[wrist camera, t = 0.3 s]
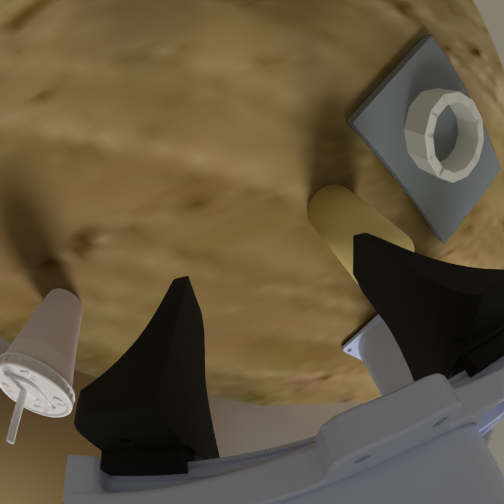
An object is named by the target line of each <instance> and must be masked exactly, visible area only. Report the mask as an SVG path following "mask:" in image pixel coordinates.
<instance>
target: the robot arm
mask: <svg viewBox="0 0 504 504" xmlns="http://www.w3.org/2000/svg"><path fill="white" fill-rule="evenodd" d="M353 275H354V277H355V279H356V281H357V283H358V284H359V286H360V288H361V290H362V292H363V293H364V294H365V296H366V297H367V299H368V300H369V301H370V303H371V304H372V305H373V307H374V308H375V310H376V311H377V312H378V314H377V315H376V316H375V317H374V318H373V319H372V320H371V321H370V322H369V323H368V324H367V325H366V326H364V327H363V328H362V329H361V330H360V331H359V332H358V333H357V334H356V335H355V336H353V337H352V338H351V339H350V340H349V341H348V342H347V343H346V344H344V345H343V346H342V350H343V351H344V352H346V353H348V354H350V355H352V356H354V357H356V358H358V359H360V360H362V361H363V362H364V364H365V366H366V368H367V370H368V371H369V373H370V375H371V377H372V379H373V381H374V382H375V384H376V386H377V388H378V390H379V392H380V394H381V395H382V396H381V397H379V398H376V399H374V400H371V401H369V402H366V403H364V404H361V405H358V406H356V407H353V408H351V409H349V410H347V411H344V412H342V413H340V414H338V415H336V416H334V417H333V418H332V419H330V420H329V421H327V422H326V423H325V424H323V426H322V427H321V429H320V431H319V433H318V434H317V436H314V437H311V438H308V439H304V440H301V441H297V442H293V443H289V444H286V445H282V446H278V447H274V448H269V449H265V450H260V451H256V452H251V453H245V454H240V455H236V456H229V457H223V458H220V457H219V452H218V448H217V444H216V439H215V435H214V430H213V425H212V420H211V414H210V409H209V403H208V396H207V390H206V381H205V345H204V327H203V320H202V313H201V310H200V307H199V305H198V302H197V299H196V297H195V294H194V291H193V288H192V286H191V283H190V280H189V277H188V276H186V277H181V278H177V279H174V280H173V282H172V284H171V285H170V287H169V289H168V291H167V293H166V295H165V297H164V299H163V300H162V302H161V304H160V306H159V307H158V309H157V311H156V313H155V314H154V316H153V317H152V319H151V321H150V322H149V324H148V325H147V327H146V328H145V330H144V331H143V332H142V334H141V335H140V336H139V338H138V339H137V340H136V341H135V343H134V344H133V345H132V346H131V347H130V348H129V349H128V350H127V351H126V353H125V354H124V355H123V356H122V357H121V358H120V359H119V360H118V361H117V362H116V363H115V364H114V365H113V366H112V367H111V368H109V369H108V370H107V371H106V372H105V373H104V374H102V375H101V376H100V377H99V378H97V379H96V380H95V381H93V382H92V383H91V384H90V385H88V386H87V387H85V388H84V389H82V390H81V391H80V395H79V399H78V404H77V409H76V414H75V420H74V425H75V427H76V429H77V430H78V431H79V432H80V434H81V435H82V436H83V437H85V438H86V439H87V440H88V441H90V442H91V443H92V444H94V445H95V446H96V447H97V448H99V449H100V450H101V451H102V455H101V459H100V458H98V457H94V456H82V455H69V456H68V460H67V468H66V476H65V486H64V499H63V504H504V476H503V474H502V473H501V470H500V469H499V467H498V465H497V463H496V461H495V459H494V458H493V456H492V454H491V452H490V450H489V449H488V447H487V445H488V443H489V440H490V438H491V435H492V433H493V431H494V428H495V425H496V424H497V423H498V422H500V421H501V420H502V419H503V418H504V270H500V269H481V268H472V267H466V266H460V265H455V264H451V263H446V262H442V261H439V260H436V259H432V258H429V257H426V256H423V255H420V254H418V253H415V252H412V251H410V250H407V249H405V248H402V247H400V246H398V245H395V244H393V243H391V242H388V241H386V240H384V239H381V238H379V237H376V236H374V235H371V234H368V233H361V234H357V235H353Z"/></svg>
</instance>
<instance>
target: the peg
mask: <svg viewBox="0 0 504 504" xmlns="http://www.w3.org/2000/svg"><path fill="white" fill-rule="evenodd" d="M308 219H309V221H310V223H311V225H312V226H313V227H314V228H315V230H316V231H317V232H318V233H319V235H320V236H321V237H322V238H323V240H324V241H325V242H326V244H327V245H328V246H329V247H330V249H331V250H332V251H333V252H334V254H335V255H336V256H337V258H338V259H339V260H340V261H341V263H342V264H343V265H344V267H345V268H346V269H347V271H348V272H349V273H350V275H351V276H352V277H353V279H354V280H355V281H356V279H355V277H354V275H353V235H357V234H361V233H368V234H371V235H374V236H376V237H379V238H381V239H384V240H386V241H388V242H391V243H393V244H395V245H398V246H400V247H402V248H405V249H407V250H410V251H412V252H415V250H414V244H413V242H412V240H411V238H410V237H409V236H408V235H406V234H405V233H404V232H403V231H402V230H400V229H399V228H398V227H397V226H396V225H394V224H393V223H392V222H391V221H389V220H388V219H387V218H386V217H384V216H383V215H382V214H380V213H379V212H378V211H377V210H375V209H374V208H373V207H371V206H370V205H369V204H368V203H366V202H365V201H364V200H362V199H361V198H360V197H358V196H357V195H356V194H354V193H353V192H352V191H350V190H349V189H347V188H346V187H344V186H342V185H338V184H332V185H327V186H325V187H323V188H321V189H320V190H318V191H317V192H316V193H315V194H314V195H313V197H312V198H311V200H310V202H309V205H308ZM356 282H357V281H356ZM357 284H358V283H357ZM358 285H359V284H358ZM359 287H360V286H359Z"/></svg>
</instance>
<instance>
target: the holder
mask: <svg viewBox="0 0 504 504" xmlns="http://www.w3.org/2000/svg"><path fill="white" fill-rule="evenodd" d="M346 122H347V123H348V124H349V125H350V126H351V127H352V128H353V130H354V131H355V132H356V133H357V134H358V135H359V136H360V137H361V138H362V140H363V141H364V142H365V143H366V144H367V145H368V146H369V148H370V149H371V150H372V151H373V152H374V153H375V155H376V156H377V157H378V158H379V159H380V161H381V162H382V163H383V164H384V166H385V167H386V168H387V169H388V170H389V172H390V173H391V174H392V175H393V177H394V178H395V179H396V181H397V182H398V183H399V184H400V186H401V187H402V188H403V190H404V191H405V192H406V194H407V195H408V196H409V198H410V199H411V201H412V202H413V203H414V205H415V206H416V207H417V209H418V210H419V212H420V213H421V215H422V216H423V217H424V219H425V220H426V222H427V223H428V225H429V226H430V228H431V229H432V231H433V232H434V234H435V235H436V237H437V238H438V240H440V241H441V242H442V243H443V244H444V243H445V242H446V241H447V240H448V238H449V237H450V236H451V235H452V234H453V232H454V231H455V230H456V229H457V227H458V226H459V225H460V224H461V222H462V221H463V220H464V219H465V217H466V216H467V215H468V213H469V212H470V211H471V209H472V208H473V207H474V206H475V204H476V203H477V201H478V200H479V199H480V197H481V196H482V195H483V193H484V192H485V190H486V189H487V188H488V186H489V185H490V183H491V182H492V181H493V179H494V178H495V176H496V175H497V173H498V172H499V170H500V169H501V168H500V165H499V162H498V159H497V157H496V154H495V151H494V149H493V146H492V144H491V141H490V139H489V137H488V134H487V132H486V130H485V127H484V125H483V122H482V118H481V115H480V113H479V111H478V109H477V107H476V105H475V103H474V101H473V100H471V98H470V96H469V95H468V93H467V91H466V89H465V87H464V85H463V84H462V82H461V80H460V78H459V76H458V75H457V73H456V71H455V70H454V68H453V66H452V65H451V63H450V62H449V60H448V58H447V57H446V55H445V54H444V52H443V51H442V49H441V48H440V46H439V45H438V43H437V42H436V40H435V39H434V37H433V36H432V35H430V36H424V37H423V38H422V39H421V40H420V41H419V42H418V43H417V44H416V45H415V46H414V47H413V48H412V50H411V51H410V52H409V53H408V54H407V55H406V56H405V57H404V58H403V59H402V60H401V61H400V63H399V64H398V65H397V66H396V67H395V68H394V69H393V70H392V71H391V72H390V73H389V74H388V76H387V77H386V78H385V79H384V80H383V81H382V82H381V83H380V84H379V85H378V86H377V88H376V89H375V90H374V91H373V92H372V93H371V94H370V95H369V96H368V97H367V99H366V100H365V101H364V102H363V103H362V104H361V105H360V106H359V107H358V109H357V110H356V111H355V112H354V113H353V114H352V115H351V116H350V117H349V119H348V120H347V121H346Z"/></svg>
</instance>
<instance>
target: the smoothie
mask: <svg viewBox="0 0 504 504" xmlns="http://www.w3.org/2000/svg"><path fill="white" fill-rule="evenodd" d="M82 314H83V307H82V304H81V302H80V300H79V299H78V298H77V297H76V296H75V295H74V294H73V293H72V292H70V291H68V290H65V289H61V288H57V289H53V290H51V291H50V292H49V293H48V294H47V296H46V297H45V298H44V300H43V301H42V302H41V303H40V305H39V306H38V307H37V309H36V310H35V311H34V313H33V314H32V316H31V317H30V318H29V320H28V321H27V322H26V324H25V325H24V327H23V328H22V330H21V331H20V332H19V334H18V335H17V337H16V338H15V340H14V341H13V342H12V344H11V345H10V348H9V349H8V350H7V352H5V353H3V354H1V355H0V388H1V389H2V390H3V391H4V392H5V393H6V394H7V395H8V396H9V397H10V398H11V399H12V400H14V401H15V402H16V406H15V409H14V412H13V416H12V420H11V423H10V427H9V431H8V435H7V439H6V441H7V442H9V443H11V444H14V442H15V438H16V433H17V429H18V425H19V421H20V418H21V414H22V410H23V407H24V408H26V409H28V410H30V411H33V412H35V413H37V414H40V415H45V416H49V417H63V416H66V415H68V414H70V412H71V411H72V407H73V403H74V401H75V393H74V391H73V389H72V382H73V373H74V365H75V357H76V350H77V343H78V337H79V331H80V325H81V319H82Z"/></svg>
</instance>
